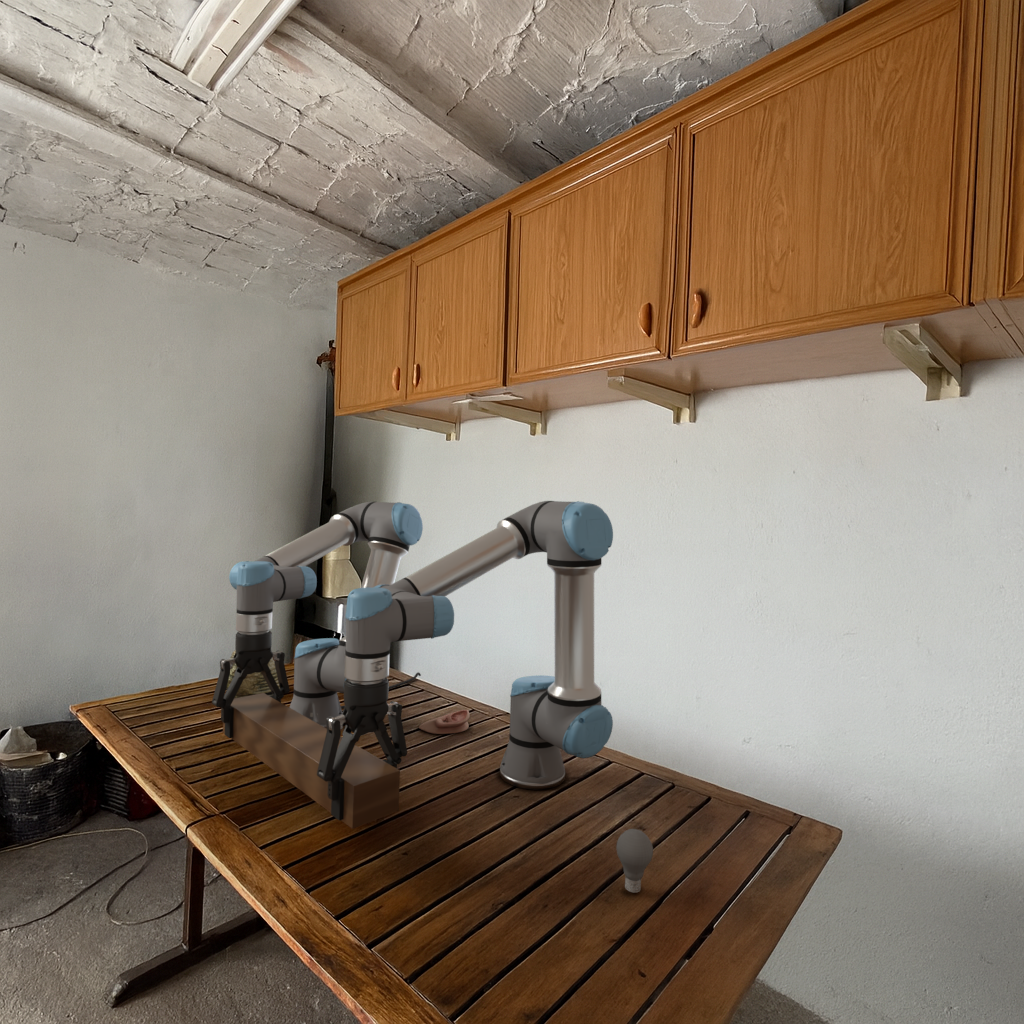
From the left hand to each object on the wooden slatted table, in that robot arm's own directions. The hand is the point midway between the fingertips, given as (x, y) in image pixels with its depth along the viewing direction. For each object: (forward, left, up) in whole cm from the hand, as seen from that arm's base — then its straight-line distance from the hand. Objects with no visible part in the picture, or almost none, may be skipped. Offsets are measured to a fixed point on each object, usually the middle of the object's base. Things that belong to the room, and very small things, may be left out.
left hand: (251, 730), depth 142 cm
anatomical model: (-52, +10, -10) cm, 54 cm away
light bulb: (-21, +85, -10) cm, 88 cm away
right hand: (+5, +46, 0) cm, 46 cm away
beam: (+2, +23, -1) cm, 23 cm away
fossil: (-30, -52, -10) cm, 61 cm away
